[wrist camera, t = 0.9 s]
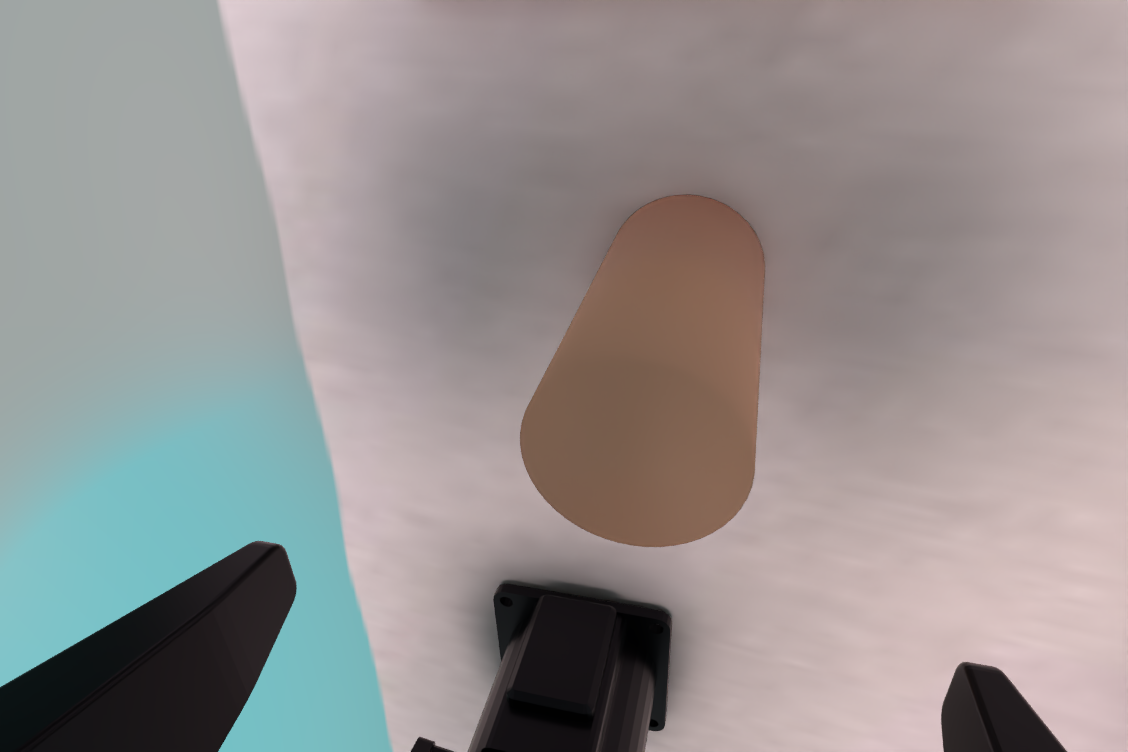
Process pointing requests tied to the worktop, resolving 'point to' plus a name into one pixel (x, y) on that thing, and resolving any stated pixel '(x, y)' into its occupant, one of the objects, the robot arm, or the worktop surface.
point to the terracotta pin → (656, 381)
